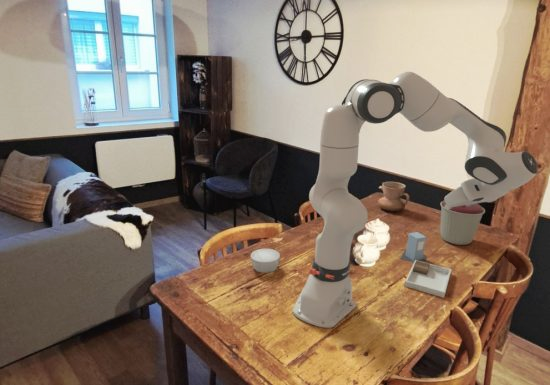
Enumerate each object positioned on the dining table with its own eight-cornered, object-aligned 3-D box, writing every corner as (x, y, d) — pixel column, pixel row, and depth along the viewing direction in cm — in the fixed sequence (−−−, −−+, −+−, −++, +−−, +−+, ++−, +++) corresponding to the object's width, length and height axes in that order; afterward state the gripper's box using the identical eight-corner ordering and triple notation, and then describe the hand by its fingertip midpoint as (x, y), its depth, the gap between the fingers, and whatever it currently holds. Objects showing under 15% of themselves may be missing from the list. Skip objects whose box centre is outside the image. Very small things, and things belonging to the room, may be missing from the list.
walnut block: (426, 275, 140) (427, 269, 139) (412, 271, 143) (413, 265, 142) (428, 269, 144) (429, 263, 144) (415, 265, 147) (416, 260, 146)
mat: (423, 266, 148) (423, 264, 148) (399, 260, 152) (400, 258, 152) (426, 256, 155) (427, 255, 155) (404, 251, 159) (405, 250, 159)
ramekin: (244, 266, 144) (244, 254, 142) (264, 257, 152) (265, 245, 150) (265, 278, 137) (265, 265, 135) (285, 267, 145) (285, 255, 143)
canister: (426, 233, 177) (433, 191, 170) (457, 230, 182) (465, 189, 175) (453, 251, 161) (462, 205, 154) (487, 246, 165) (497, 202, 159)
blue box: (422, 259, 152) (426, 237, 149) (413, 261, 150) (417, 238, 147) (413, 253, 156) (417, 232, 153) (405, 255, 155) (408, 233, 151)
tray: (443, 299, 127) (445, 292, 126) (404, 287, 133) (405, 281, 132) (450, 275, 142) (451, 269, 141) (414, 265, 148) (415, 259, 147)
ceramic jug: (370, 207, 208) (373, 183, 203) (384, 201, 217) (387, 178, 213) (399, 217, 196) (403, 191, 191) (412, 210, 205) (416, 186, 200)
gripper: (505, 176, 123) (474, 194, 135) (459, 181, 115) (431, 201, 127) (515, 193, 120) (482, 210, 132) (469, 200, 113) (438, 217, 125)
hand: (457, 205), depth 129 cm, fingers open, 8 cm apart
